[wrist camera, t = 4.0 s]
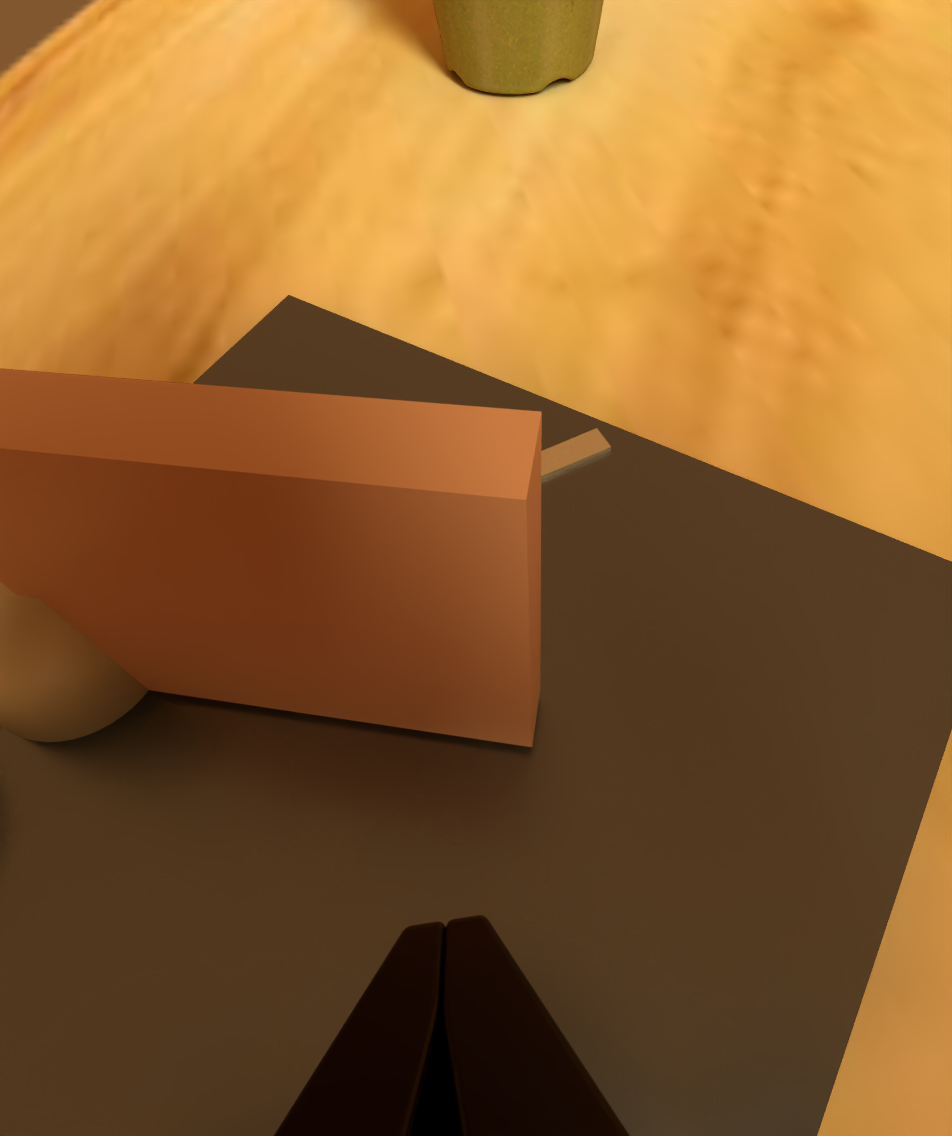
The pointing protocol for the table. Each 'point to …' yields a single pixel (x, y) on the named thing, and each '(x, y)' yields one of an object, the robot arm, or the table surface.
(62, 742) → the plate
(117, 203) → the table surface
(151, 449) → the terracotta tile
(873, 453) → the table surface
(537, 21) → the plant pot
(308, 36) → the table surface
